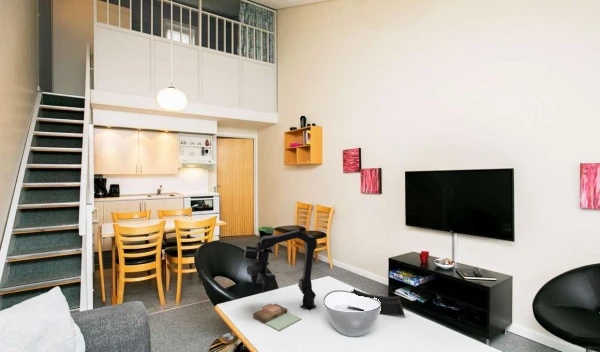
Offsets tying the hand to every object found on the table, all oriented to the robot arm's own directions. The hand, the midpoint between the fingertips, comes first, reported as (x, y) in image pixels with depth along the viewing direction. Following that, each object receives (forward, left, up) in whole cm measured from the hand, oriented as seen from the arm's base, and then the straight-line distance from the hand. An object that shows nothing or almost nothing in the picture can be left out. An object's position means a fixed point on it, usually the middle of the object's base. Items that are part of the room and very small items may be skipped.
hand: (258, 289), depth 163 cm
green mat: (-1, +18, -12) cm, 22 cm away
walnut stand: (-1, +8, -12) cm, 15 cm away
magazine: (-43, +46, -13) cm, 64 cm away
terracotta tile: (-1, +9, -10) cm, 13 cm away
